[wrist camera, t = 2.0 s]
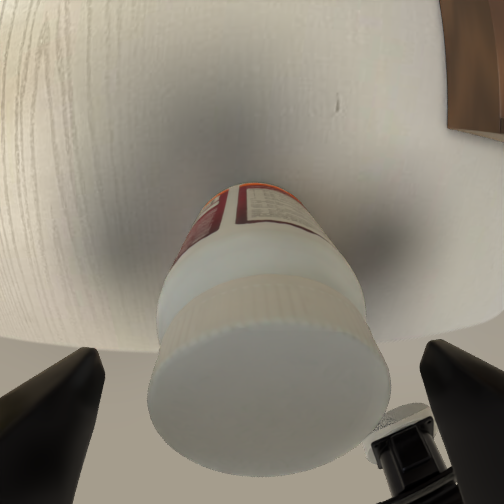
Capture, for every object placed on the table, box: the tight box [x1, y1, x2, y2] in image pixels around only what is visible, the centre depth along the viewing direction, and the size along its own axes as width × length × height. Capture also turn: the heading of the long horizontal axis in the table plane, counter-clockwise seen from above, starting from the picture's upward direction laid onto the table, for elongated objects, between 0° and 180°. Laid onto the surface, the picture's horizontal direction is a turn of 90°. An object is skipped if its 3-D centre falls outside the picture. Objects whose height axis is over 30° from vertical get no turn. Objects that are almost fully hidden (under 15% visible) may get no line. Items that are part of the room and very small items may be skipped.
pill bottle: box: [147, 183, 391, 477], centre depth 11 cm, size 6×6×11 cm
